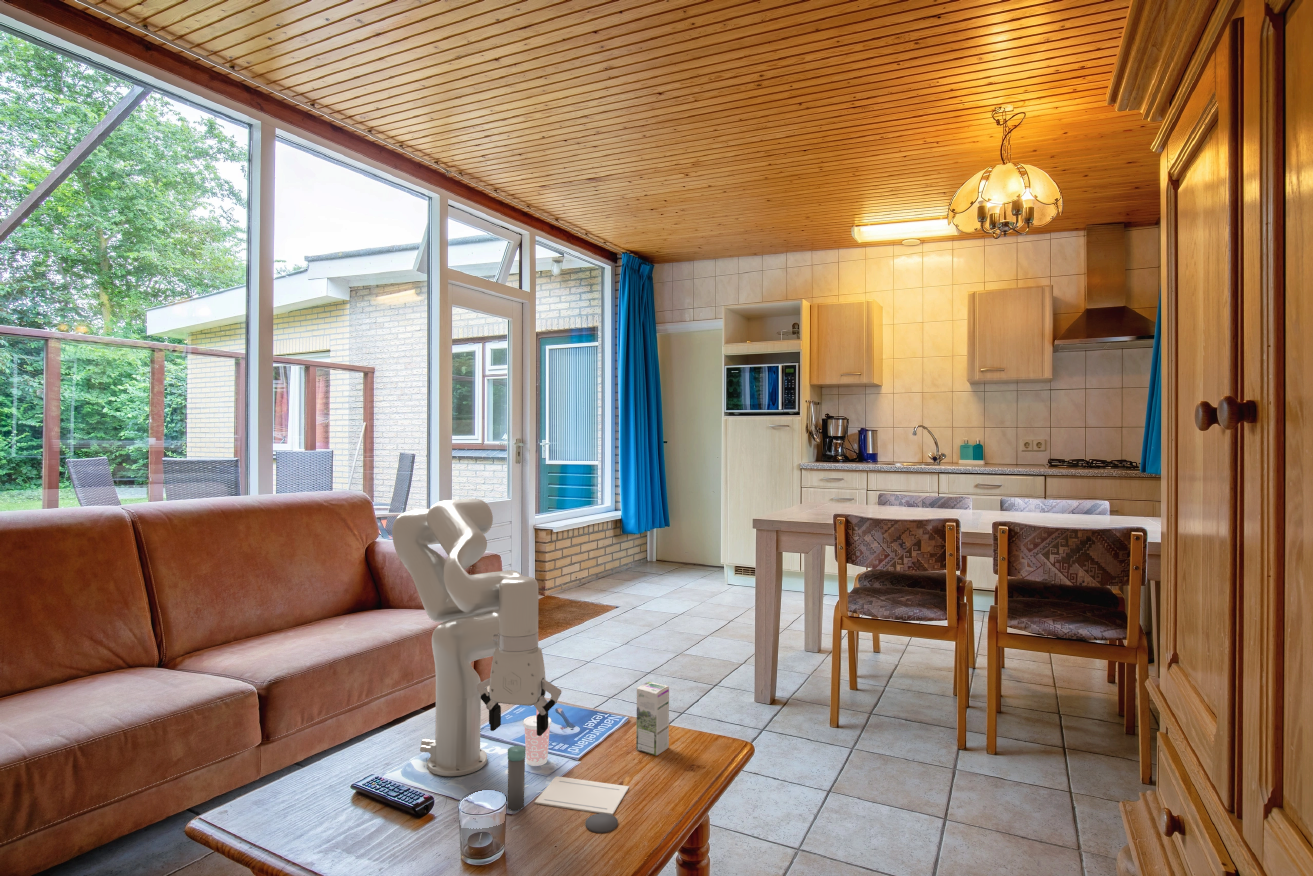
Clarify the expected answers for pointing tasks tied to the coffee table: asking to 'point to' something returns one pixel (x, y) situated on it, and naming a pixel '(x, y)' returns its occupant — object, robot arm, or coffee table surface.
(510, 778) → the marker
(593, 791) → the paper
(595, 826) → the coaster
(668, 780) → the coffee table surface
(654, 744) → the syrup box
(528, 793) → the coffee table surface
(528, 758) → the beverage cup
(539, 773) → the coffee table surface
